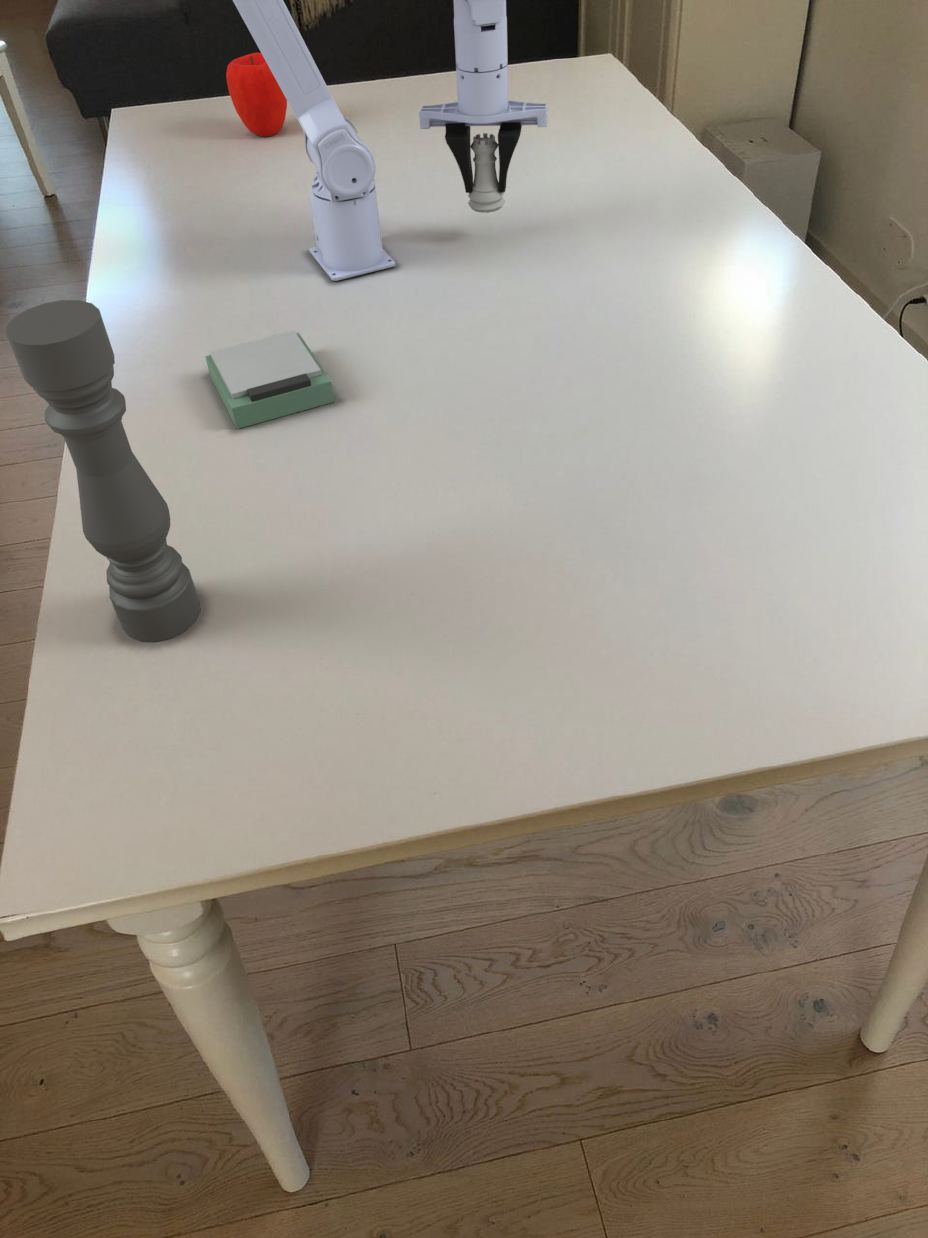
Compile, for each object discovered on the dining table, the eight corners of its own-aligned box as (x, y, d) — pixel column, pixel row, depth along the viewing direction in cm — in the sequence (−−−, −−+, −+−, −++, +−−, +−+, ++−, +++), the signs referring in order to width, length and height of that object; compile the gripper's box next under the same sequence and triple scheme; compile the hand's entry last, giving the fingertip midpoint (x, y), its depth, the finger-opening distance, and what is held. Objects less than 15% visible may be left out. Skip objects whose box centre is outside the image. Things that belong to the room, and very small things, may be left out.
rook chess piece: (509, 200, 123) (508, 131, 118) (498, 215, 120) (496, 145, 115) (474, 197, 124) (471, 128, 119) (463, 211, 121) (459, 142, 116)
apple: (247, 122, 160) (232, 46, 152) (300, 121, 159) (288, 45, 151) (230, 142, 154) (213, 64, 146) (285, 142, 153) (272, 63, 145)
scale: (210, 376, 105) (203, 349, 103) (302, 352, 107) (297, 325, 105) (237, 429, 98) (230, 401, 95) (335, 402, 100) (330, 374, 98)
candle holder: (127, 591, 82) (14, 302, 64) (204, 583, 82) (112, 293, 64) (115, 645, 77) (-11, 351, 60) (196, 637, 77) (94, 342, 60)
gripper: (549, 51, 113) (548, 175, 123) (421, 55, 115) (430, 176, 125) (546, 71, 108) (545, 198, 118) (412, 74, 110) (422, 199, 120)
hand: (486, 189), depth 121 cm, fingers closed on rook chess piece, 3 cm apart
